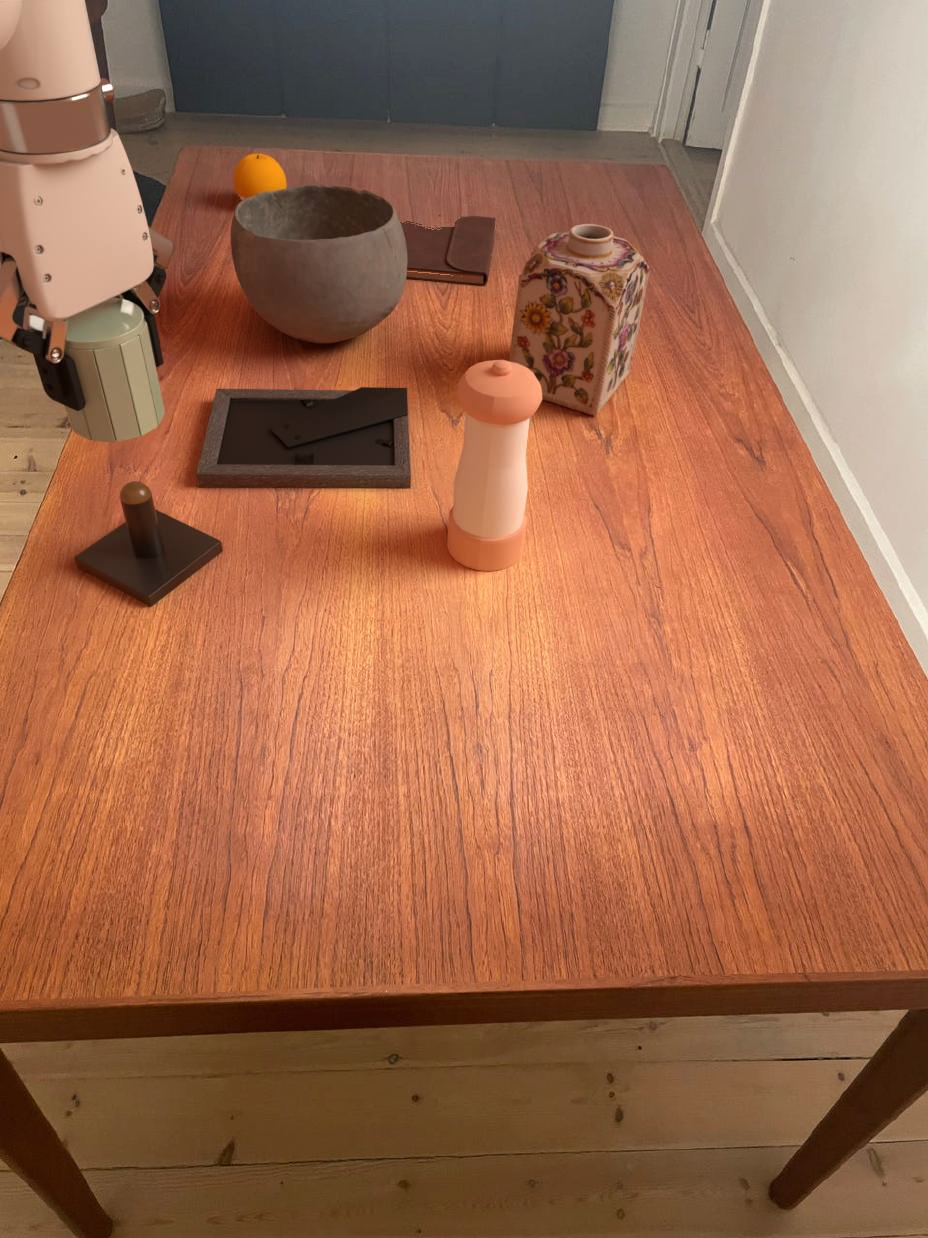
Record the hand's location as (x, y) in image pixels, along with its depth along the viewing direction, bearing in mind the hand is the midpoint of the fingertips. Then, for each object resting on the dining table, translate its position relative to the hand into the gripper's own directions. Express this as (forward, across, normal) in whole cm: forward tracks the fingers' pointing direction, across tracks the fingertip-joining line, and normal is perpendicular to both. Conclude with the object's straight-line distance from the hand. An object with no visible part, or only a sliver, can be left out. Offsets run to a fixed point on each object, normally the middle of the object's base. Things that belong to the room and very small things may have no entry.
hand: (108, 379), depth 67 cm
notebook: (+20, -74, -17) cm, 79 cm away
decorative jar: (+20, -52, +15) cm, 58 cm away
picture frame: (+20, -24, -2) cm, 31 cm away
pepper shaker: (+20, -20, +22) cm, 36 cm away
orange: (+20, -71, -49) cm, 88 cm away
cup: (+3, 0, -1) cm, 3 cm away
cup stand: (+19, -1, -2) cm, 19 cm away
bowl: (+20, -45, -16) cm, 52 cm away
